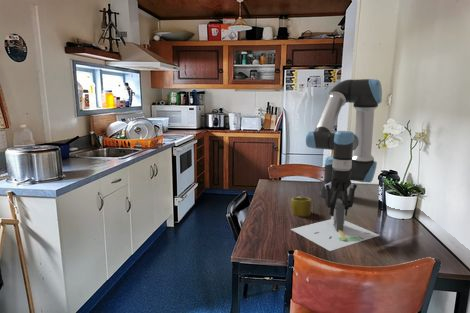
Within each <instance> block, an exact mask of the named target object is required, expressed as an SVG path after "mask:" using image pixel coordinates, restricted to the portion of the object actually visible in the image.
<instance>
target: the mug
mask: <svg viewBox="0 0 470 313" xmlns="http://www.w3.org/2000/svg"><path fill="white" fill-rule="evenodd" d="M290 201H291V202H290V205H291V213H292V215H293V216H298V217H309V216H310V215H311V214H312V210H311V209H312V199H311V198H309V197H307V196H297V197H292V198H291V200H290Z"/></svg>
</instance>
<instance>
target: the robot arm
mask: <svg viewBox="0 0 470 313" xmlns="http://www.w3.org/2000/svg"><path fill="white" fill-rule="evenodd" d="M382 100H383V90H382V84H381V81H380V80H378V79H374V78H366V79H365V78H364V79H363V78H362V79H345V80H343V81H341V82H338V83H337V84H336V85H335V86H333V87H332V88H331V90H330V91H329V92H328V93H327V96H326V103H325V106H324V108H323V111H322V112H321V115H320V117H319V120H318V122H317V125H316V127H315V129H314V131H311V130H310V131H308V132H307V133H306V136H305V145H306V147H308V148H311V149H316V150H317V149H318V150H330V151H333V153H332V154H333V155H330V156H327V157H326V158H325V160H324V161H325V162H324V172H323V175H324V176H323V182H322V185H321V188H320V191H319V196H320V197H322V198H324V199H325V206H326V207H327V208H328V209H329V215H330V216H331V217H330V219H331V222H332V223H333V224H335V221H336V209H335V205H336V200H337V199H341V201H342V202H343V204H344V205H345V211H344V222H345V221H346V220H345V219H346V216H348V210H349V208H353V203H354V199H355V198H354V197H355V191H356V189H357V187H358V185H357V184H356V183H354V182H359V183H372V181H373V179H374V176H375V174H376V169H377V165H378V162H377V161H375V157H374V156H373V155H372V146H373V145H372V144H373V132H374V120H375V118H374V117H375V110H376V109H377V108H378V107H379V104H381V103H382V102H383V101H382ZM346 103H351V104H353V108H354V109H355V127H354V132H353V131H349V130H337V131H335V132H333V130H334V127H335V125H336V122H337V120H338V117H339V116H340V113H341V109H342V107H344V106H345V105H346ZM352 181H353V183H352ZM348 188H349V190H348Z"/></svg>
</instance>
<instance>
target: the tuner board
mask: <svg viewBox="0 0 470 313" xmlns="http://www.w3.org/2000/svg"><path fill="white" fill-rule="evenodd" d="M290 230H291V231H293V232H294V233H297V234H298V235H300V236H302V237H304V238H305V239H307V240H309V241H311V242H312V243H314V244H316V245H318V246H319V247H322V248H324V249H325V250H327V251H328V252H331V251H335V250H337V249H341V248H343V247H344V248H346V247H348V246H351V245H354V244H357V243H361V242H363V241H366V240H370V239H373V238H377V237H379V236H381V235H380V234H378V233H375V232H374V231H371V230H368V229H367V228H364V227H361V226H359V225H357V224H354V223H352V222H349V221H348V220H345V222H344V224H343V231H342V232H343V234H344V236H345V238H346V240H343V239H342V237H341V235H340V233H339V232H338V231H336V229H335V227H334V225H333V223H332V222H331V218H330V219H327V220H321V221H318V222H315V223H310V224H306V225H302V226H299V227H294V228H291V229H290Z"/></svg>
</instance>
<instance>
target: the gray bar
mask: <svg viewBox="0 0 470 313" xmlns="http://www.w3.org/2000/svg"><path fill="white" fill-rule="evenodd" d="M335 209H336V221H335V224H333V225H334V227H335V229H336V231H338V232H339V233H340V235H341V237H342V239H343V240H346V238H345V236H344V234H343V232H342V231H343V224H344V211H345V205H344V204H343V200H341V199H337V200H336V205H335Z"/></svg>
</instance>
